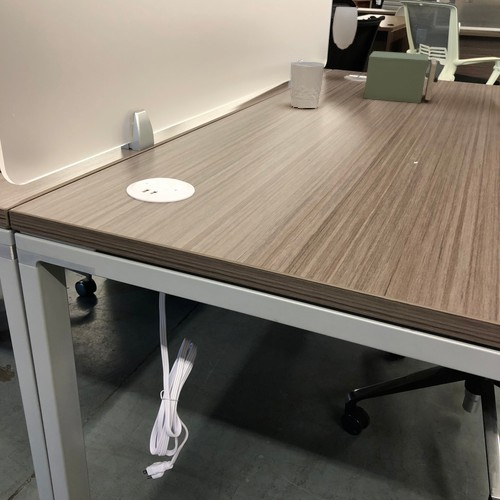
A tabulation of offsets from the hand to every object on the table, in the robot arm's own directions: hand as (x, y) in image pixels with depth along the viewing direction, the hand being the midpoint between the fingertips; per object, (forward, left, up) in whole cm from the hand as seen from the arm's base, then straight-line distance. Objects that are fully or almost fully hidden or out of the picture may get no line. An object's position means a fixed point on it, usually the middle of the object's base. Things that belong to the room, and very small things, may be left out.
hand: (489, 2), depth 123 cm
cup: (+37, -22, -24) cm, 49 cm away
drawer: (+16, 0, -23) cm, 28 cm away
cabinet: (+19, 0, -24) cm, 31 cm away
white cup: (+39, +23, -24) cm, 51 cm away
